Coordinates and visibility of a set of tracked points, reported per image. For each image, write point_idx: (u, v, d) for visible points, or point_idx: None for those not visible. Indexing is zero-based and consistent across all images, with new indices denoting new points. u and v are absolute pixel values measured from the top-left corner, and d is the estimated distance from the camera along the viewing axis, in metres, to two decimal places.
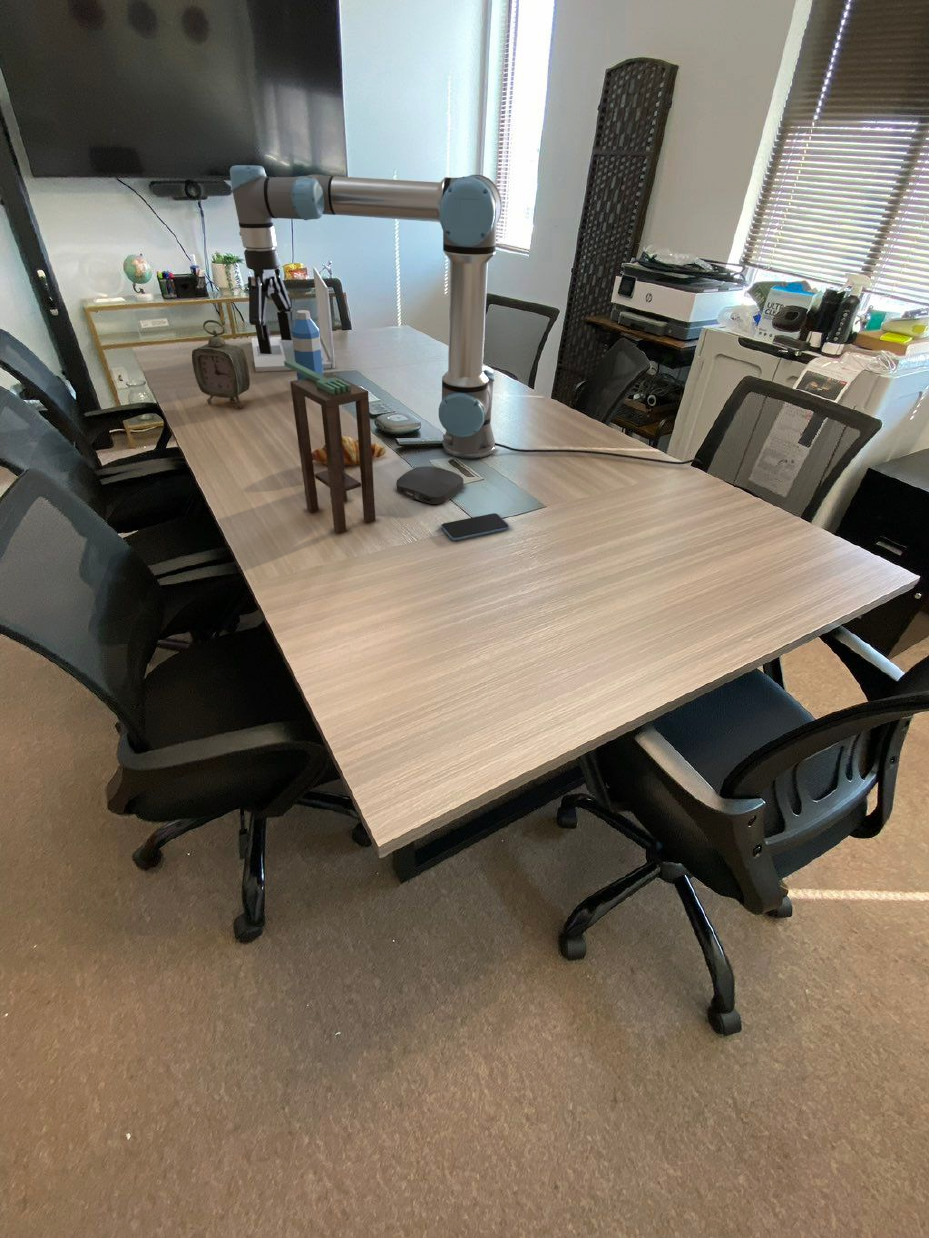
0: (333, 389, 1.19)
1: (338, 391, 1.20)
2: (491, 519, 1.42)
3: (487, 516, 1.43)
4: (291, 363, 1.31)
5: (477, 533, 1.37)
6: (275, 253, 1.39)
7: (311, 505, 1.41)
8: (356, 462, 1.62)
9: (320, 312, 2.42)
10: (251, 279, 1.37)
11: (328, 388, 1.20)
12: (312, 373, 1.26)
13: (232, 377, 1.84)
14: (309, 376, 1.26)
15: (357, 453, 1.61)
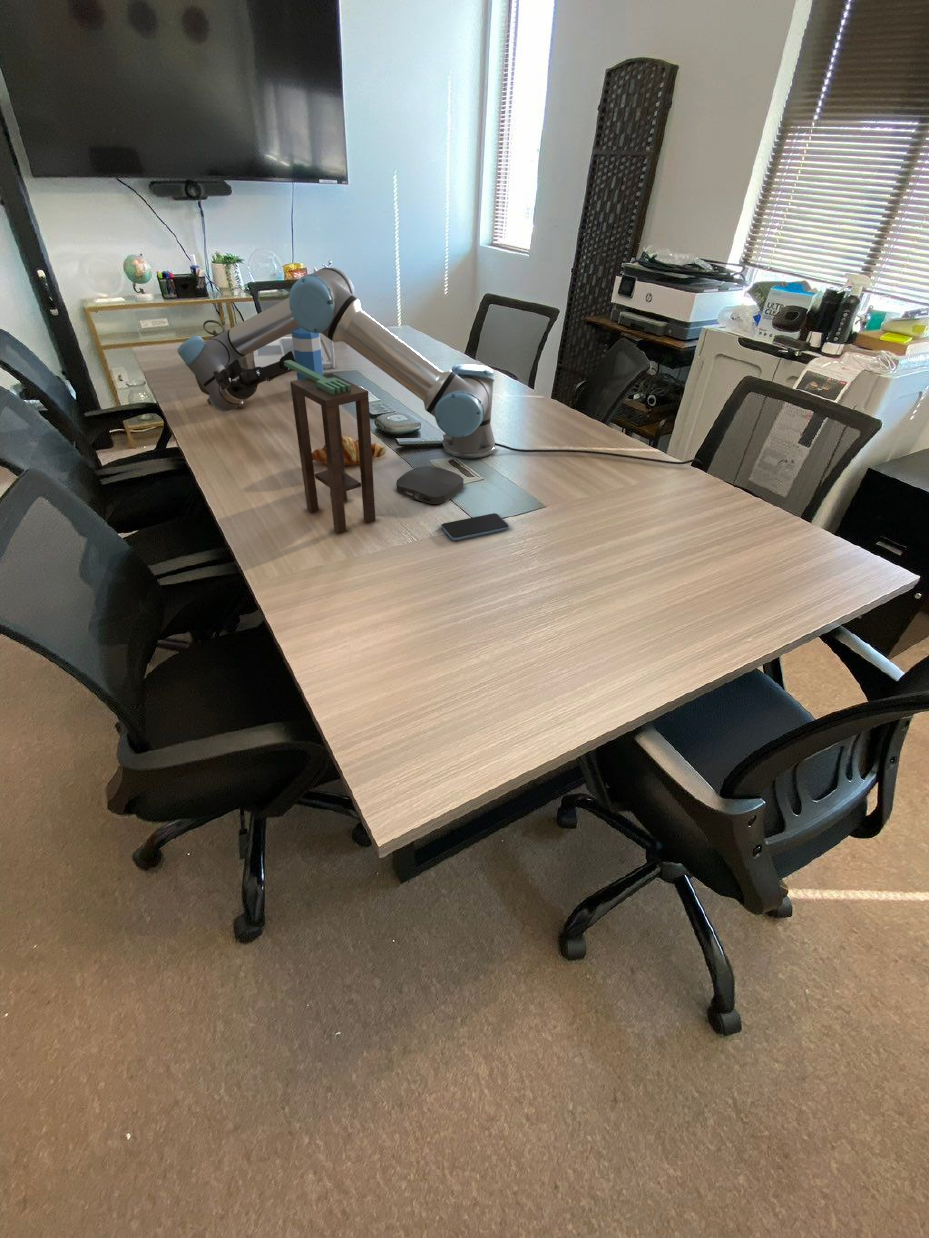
0: (333, 389, 1.19)
1: (338, 391, 1.20)
2: (491, 519, 1.42)
3: (487, 516, 1.43)
4: (291, 363, 1.31)
5: (477, 533, 1.37)
6: None
7: (311, 505, 1.41)
8: (356, 462, 1.62)
9: None
10: (219, 385, 1.50)
11: (328, 388, 1.20)
12: (312, 373, 1.26)
13: None
14: (309, 376, 1.26)
15: (357, 453, 1.61)
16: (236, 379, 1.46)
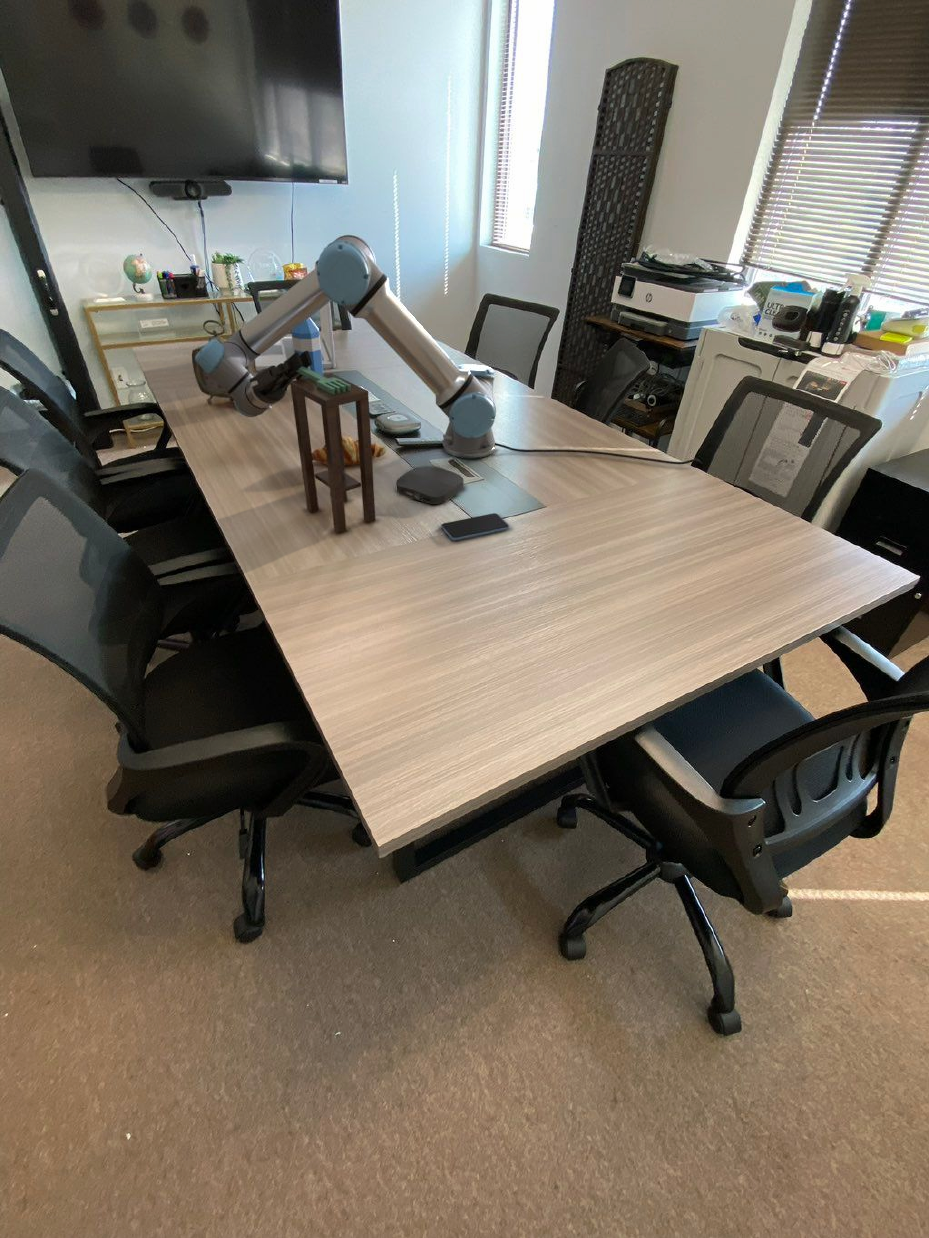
0: (333, 389, 1.19)
1: (338, 391, 1.20)
2: (491, 519, 1.42)
3: (487, 516, 1.43)
4: None
5: (477, 533, 1.37)
6: None
7: (311, 505, 1.41)
8: (356, 462, 1.62)
9: (322, 312, 2.42)
10: (252, 386, 1.36)
11: (328, 388, 1.20)
12: (312, 373, 1.26)
13: None
14: (309, 376, 1.26)
15: (357, 453, 1.61)
16: None
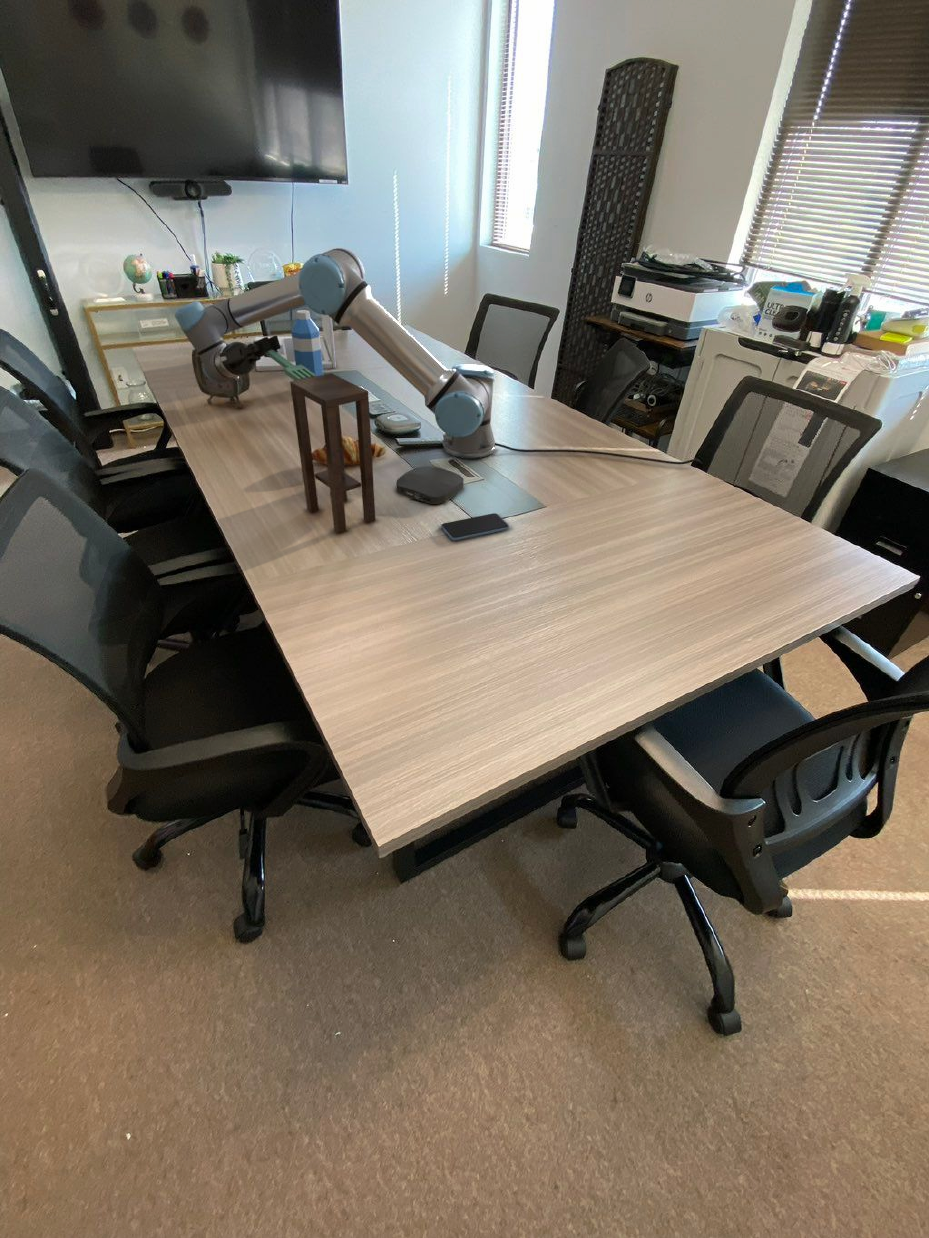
0: (299, 379, 1.30)
1: None
2: (491, 519, 1.42)
3: (487, 516, 1.43)
4: None
5: (477, 533, 1.37)
6: None
7: (311, 505, 1.41)
8: (356, 462, 1.62)
9: None
10: (222, 360, 1.44)
11: (295, 377, 1.30)
12: (280, 358, 1.36)
13: None
14: (277, 361, 1.36)
15: (357, 453, 1.61)
16: None
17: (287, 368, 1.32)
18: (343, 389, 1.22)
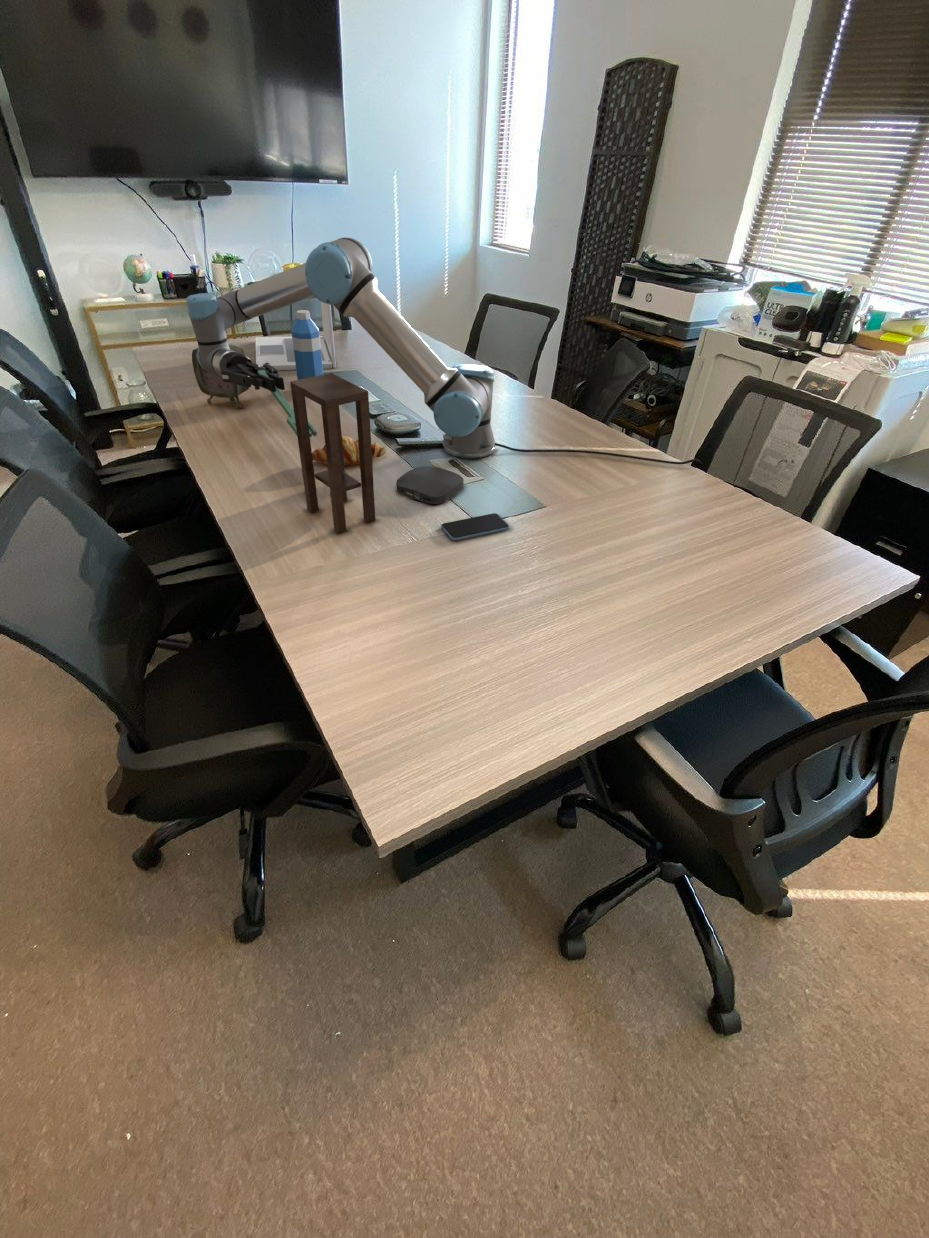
0: None
1: None
2: (491, 519, 1.42)
3: (487, 516, 1.43)
4: None
5: (477, 533, 1.37)
6: (230, 352, 1.52)
7: (311, 505, 1.41)
8: (356, 462, 1.62)
9: None
10: (222, 378, 1.47)
11: None
12: (283, 401, 1.42)
13: None
14: (280, 403, 1.42)
15: (357, 453, 1.61)
16: None
17: (290, 419, 1.40)
18: (343, 389, 1.22)
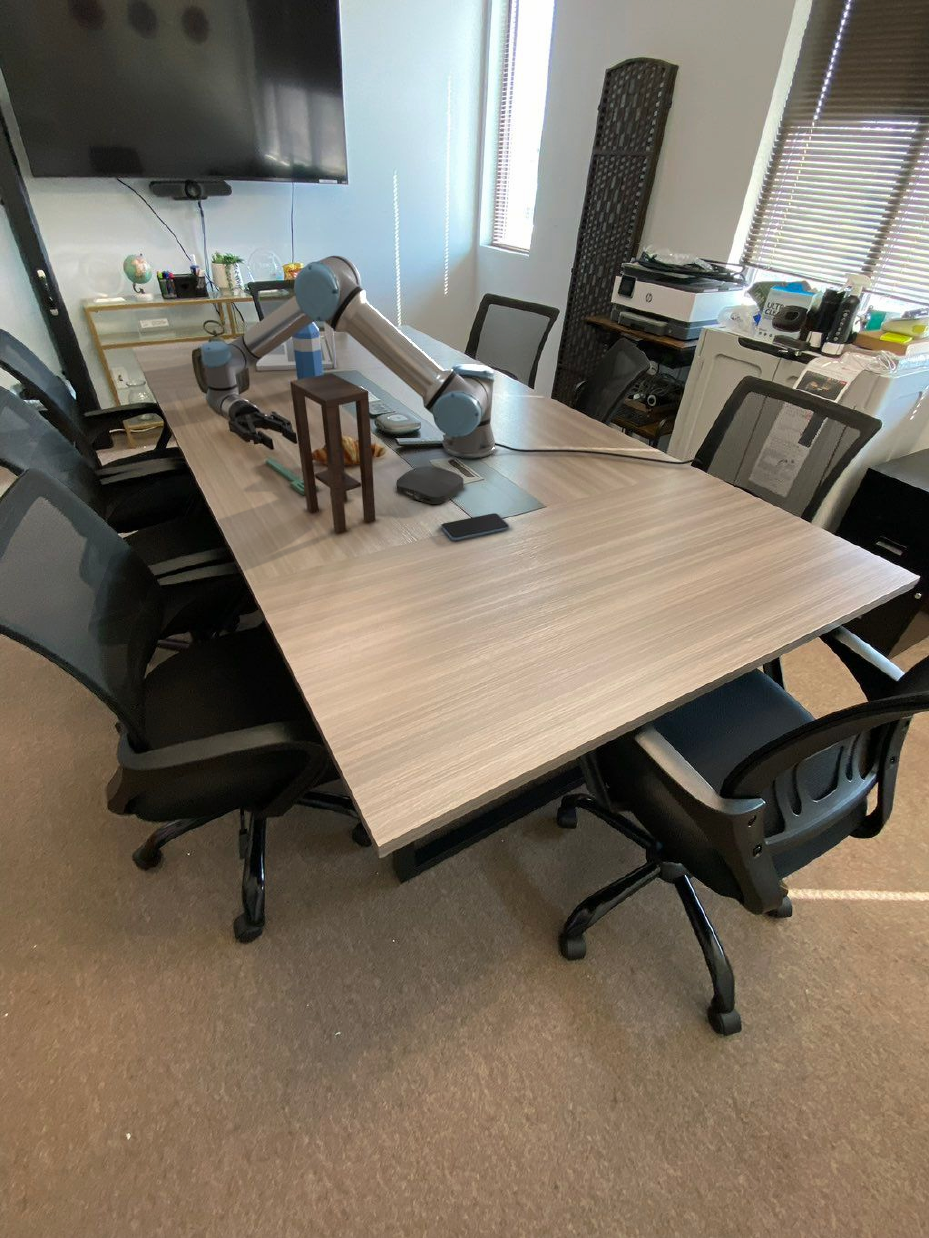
0: (303, 491, 1.49)
1: None
2: (491, 519, 1.42)
3: (487, 516, 1.43)
4: (271, 463, 1.60)
5: (477, 533, 1.37)
6: (239, 401, 1.60)
7: (311, 505, 1.41)
8: (356, 462, 1.62)
9: None
10: (229, 428, 1.56)
11: (299, 490, 1.49)
12: (288, 473, 1.56)
13: None
14: (285, 476, 1.56)
15: (357, 453, 1.61)
16: None
17: (293, 482, 1.52)
18: (343, 389, 1.22)
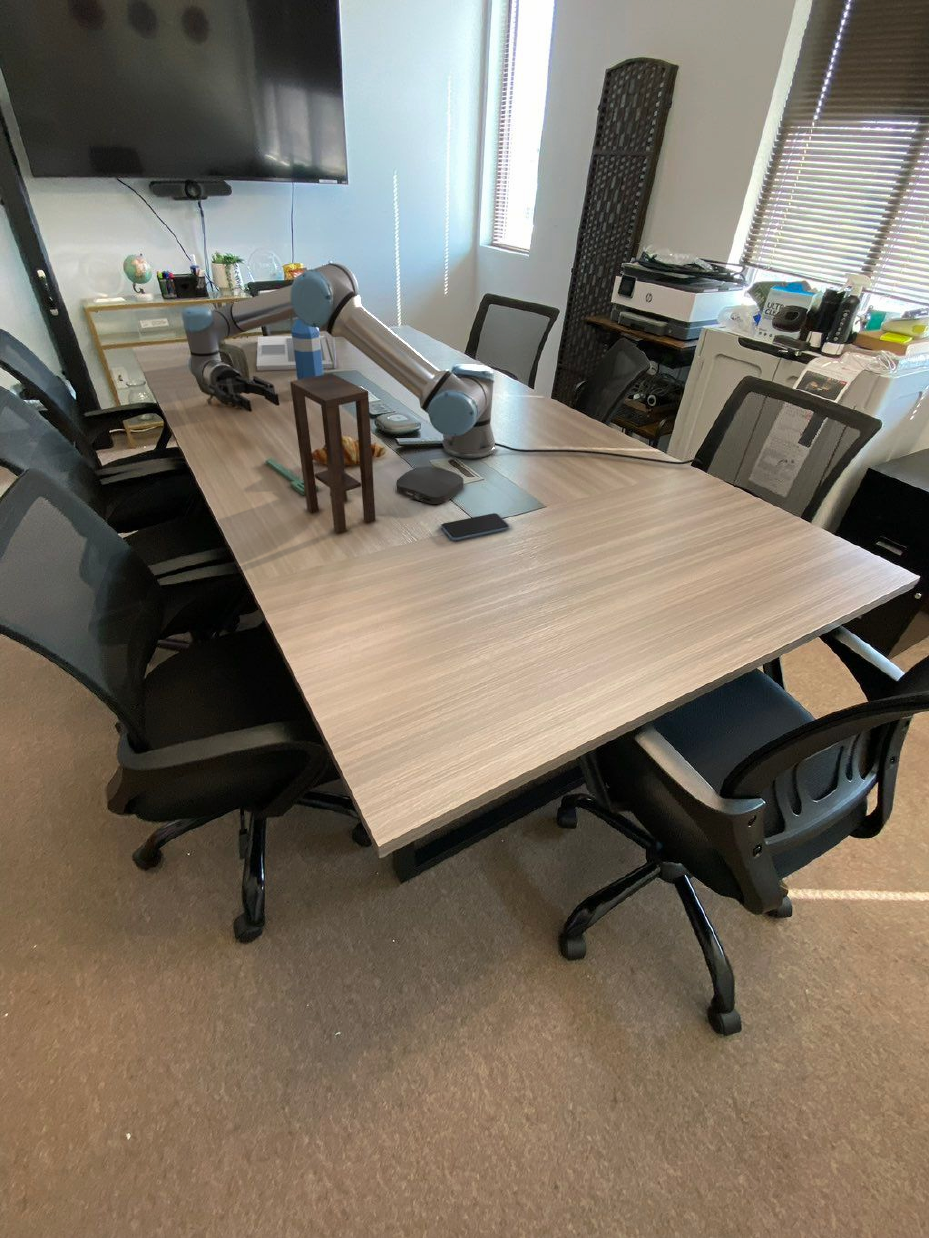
0: (303, 491, 1.49)
1: None
2: (491, 519, 1.42)
3: (487, 516, 1.43)
4: (271, 463, 1.60)
5: (477, 533, 1.37)
6: (220, 365, 1.60)
7: (311, 505, 1.41)
8: (356, 462, 1.62)
9: None
10: None
11: (299, 490, 1.49)
12: (288, 473, 1.56)
13: None
14: (285, 476, 1.56)
15: (357, 453, 1.61)
16: None
17: (293, 482, 1.52)
18: (343, 389, 1.22)
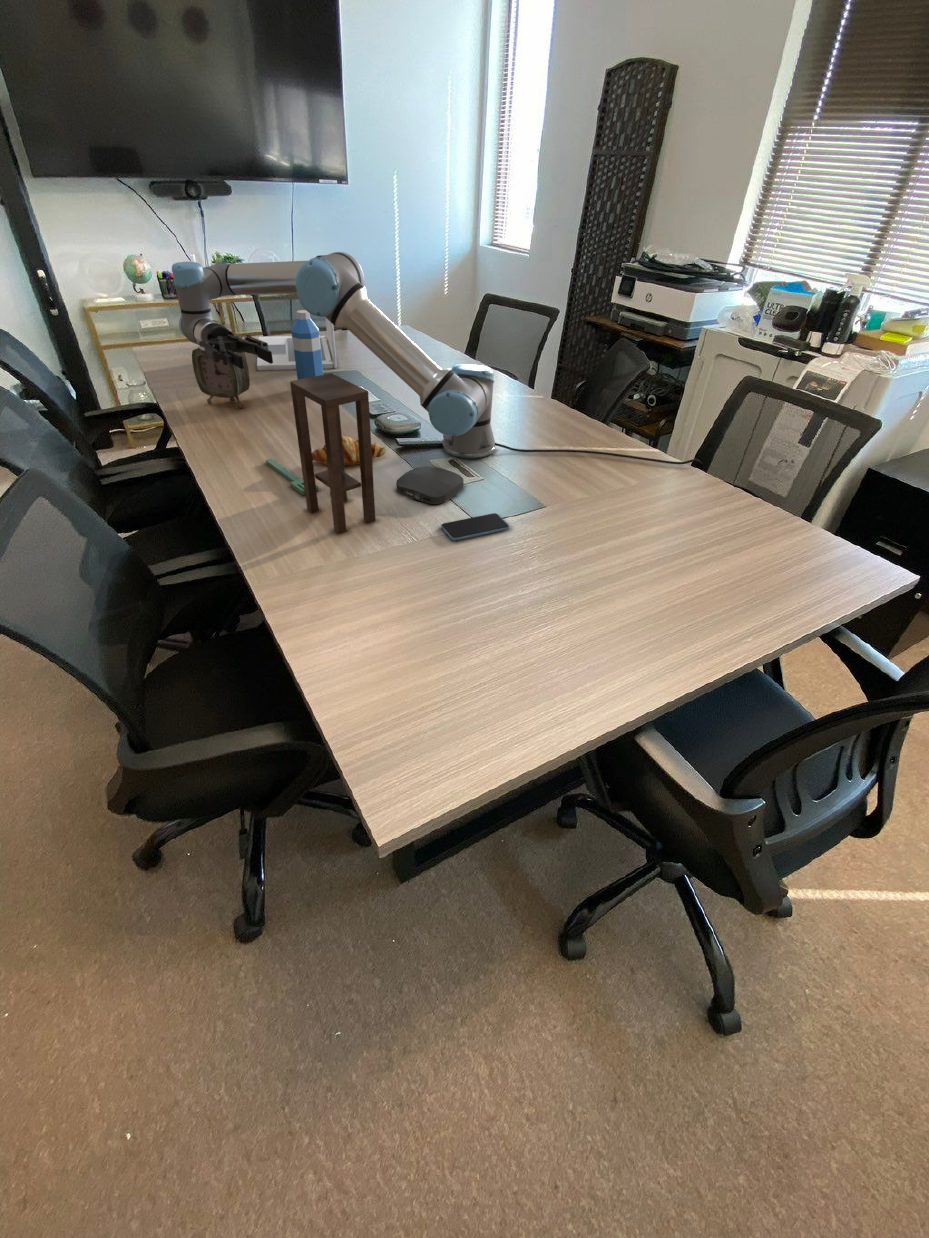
0: (303, 491, 1.49)
1: None
2: (491, 519, 1.42)
3: (487, 516, 1.43)
4: (271, 463, 1.60)
5: (477, 533, 1.37)
6: (212, 323, 1.54)
7: (311, 505, 1.41)
8: (356, 462, 1.62)
9: None
10: (200, 349, 1.50)
11: (299, 490, 1.49)
12: (288, 473, 1.56)
13: (232, 377, 1.84)
14: (285, 476, 1.56)
15: (357, 453, 1.61)
16: None
17: (293, 482, 1.52)
18: (343, 389, 1.22)
